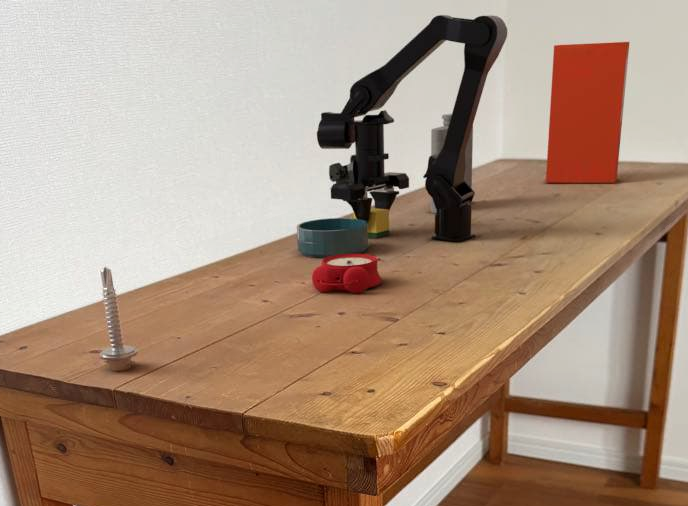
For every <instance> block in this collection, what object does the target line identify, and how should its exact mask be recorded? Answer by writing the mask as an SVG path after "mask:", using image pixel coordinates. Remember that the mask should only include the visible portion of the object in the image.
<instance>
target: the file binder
mask: <svg viewBox="0 0 688 506" xmlns="http://www.w3.org/2000/svg"><path fill="white" fill-rule="evenodd" d="M629 50H630V41H617V42H616V41H615V42H614V41H613V42H595V43H594V42H593V43H575V44H574V43H572V44H556V45H553V59H552V71H551V72H552V73H551V74H552V75H551V87H550V88H551V89H550V105H549V120H548V121H549V122H548V141H547V155H546V172H545V173H546V174H545V183H546V184H615V183H616V181H617V180H618V179H617V178H618V170H619V160H620V149H621V148H620V146H621V137H622V126H623V116H624V106H625V105H624V104H625V94H626V84H627V73H628V64H629V53H630V51H629Z"/></svg>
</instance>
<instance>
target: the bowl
mask: <svg viewBox="0 0 688 506" xmlns="http://www.w3.org/2000/svg"><path fill="white" fill-rule="evenodd" d="M369 239H370V237H368V222H367V221H365V220H361V219H354V217H353V218H352V217H331V218H328V217H327V218H320V219H312V220H311V219H310V220H307V221H303V222H301V223H299V224H297V225H296V241H297V250H298V252H299V253H300V254H301V255H303V256H305V257H310V258H318V259H325V258H327V257H330V256H335V255H342V254H364V253H365V252H366V250H367V249H368V248H369V246H370V243H369Z"/></svg>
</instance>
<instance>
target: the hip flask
mask: <svg viewBox="0 0 688 506" xmlns="http://www.w3.org/2000/svg"><path fill="white" fill-rule="evenodd" d="M451 116H452V113H447V114H442V115H441V119H442V125H443V126H439V127H435V128H432V129H431V130H430V131H431V132H430V156H432V155H434V154H437V153H440V151H441V150H442V148H443V145H444V141H445V138H446V134H447V130H448V127H449V123H450V120H451ZM473 140H474V125H473V126H472V129H471V133H470V136H469V140H468V143H467V146H466V150H465V164H466V168H465V175H464V181H465V182H466V183H467V184H468V185H469V186H470V187H471V188H472V187H473V186H472V185H473V146H474V142H473ZM472 189H473V188H472ZM471 204H472V202H471V203H468V205H471ZM430 213H431V214H435V213H437V209H436V207H435V204H434V201H433V198H432V197H431V196H430Z"/></svg>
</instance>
